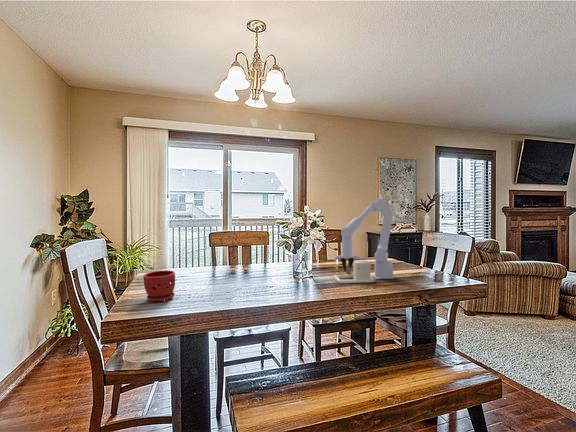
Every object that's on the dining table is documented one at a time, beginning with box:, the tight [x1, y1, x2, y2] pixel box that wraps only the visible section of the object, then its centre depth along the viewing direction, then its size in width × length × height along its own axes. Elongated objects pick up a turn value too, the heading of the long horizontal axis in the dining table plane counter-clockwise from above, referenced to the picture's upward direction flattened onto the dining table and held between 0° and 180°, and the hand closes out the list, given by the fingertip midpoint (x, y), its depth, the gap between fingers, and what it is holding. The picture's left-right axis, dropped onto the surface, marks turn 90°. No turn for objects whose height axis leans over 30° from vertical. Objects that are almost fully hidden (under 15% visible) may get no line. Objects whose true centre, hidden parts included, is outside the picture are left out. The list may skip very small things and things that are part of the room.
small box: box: [352, 260, 372, 280], centre depth 174 cm, size 8×6×10 cm
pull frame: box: [333, 266, 376, 284], centre depth 180 cm, size 19×20×5 cm
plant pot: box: [142, 269, 176, 302], centre depth 145 cm, size 13×13×12 cm
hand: (347, 271), depth 191 cm, fingers closed on pull frame, 2 cm apart
